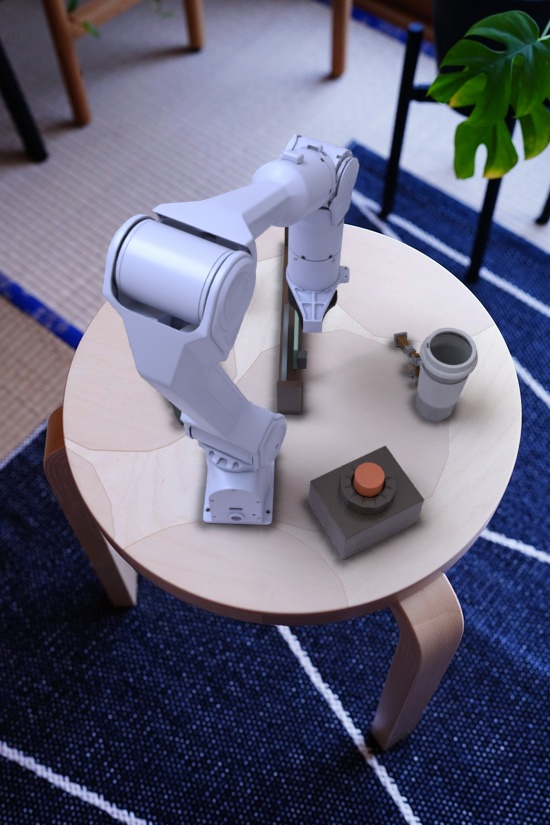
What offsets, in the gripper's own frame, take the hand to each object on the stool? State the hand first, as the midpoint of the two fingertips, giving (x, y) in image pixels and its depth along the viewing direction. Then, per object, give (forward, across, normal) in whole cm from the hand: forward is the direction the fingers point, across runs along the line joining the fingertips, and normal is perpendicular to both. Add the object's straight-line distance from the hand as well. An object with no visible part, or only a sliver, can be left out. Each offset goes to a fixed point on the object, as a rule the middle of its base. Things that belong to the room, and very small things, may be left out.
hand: (310, 325), depth 94 cm
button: (+3, -20, -7) cm, 21 cm away
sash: (+8, +6, +1) cm, 10 cm away
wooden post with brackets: (+10, +2, -13) cm, 17 cm away
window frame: (+10, +8, +2) cm, 13 cm away
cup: (+10, -5, -16) cm, 20 cm away
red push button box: (+10, -20, -7) cm, 23 cm away
